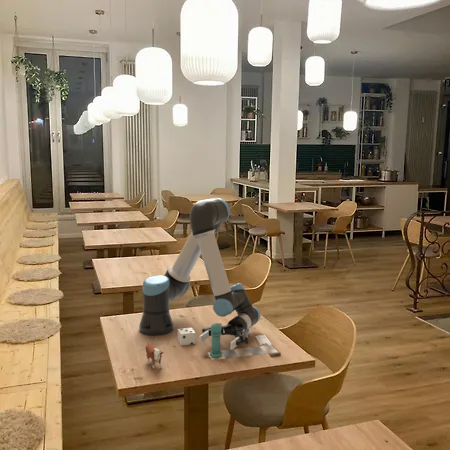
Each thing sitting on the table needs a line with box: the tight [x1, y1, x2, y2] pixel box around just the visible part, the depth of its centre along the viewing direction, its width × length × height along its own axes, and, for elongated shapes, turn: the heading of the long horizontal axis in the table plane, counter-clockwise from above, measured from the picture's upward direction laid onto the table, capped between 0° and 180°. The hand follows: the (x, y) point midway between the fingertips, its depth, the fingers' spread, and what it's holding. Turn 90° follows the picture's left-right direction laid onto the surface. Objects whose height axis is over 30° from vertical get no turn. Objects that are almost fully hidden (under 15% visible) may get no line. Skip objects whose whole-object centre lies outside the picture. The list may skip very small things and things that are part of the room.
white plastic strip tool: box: [255, 334, 273, 346], centre depth 207 cm, size 5×15×1 cm, turn 10°
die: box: [177, 327, 196, 346], centre depth 204 cm, size 6×6×6 cm
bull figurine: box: [145, 342, 164, 370], centre depth 183 cm, size 4×13×8 cm, turn 24°
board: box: [206, 344, 282, 361], centre depth 194 cm, size 28×9×1 cm, turn 107°
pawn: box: [209, 322, 223, 358], centre depth 190 cm, size 5×5×13 cm
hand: (215, 342), depth 188 cm, fingers open, 13 cm apart
